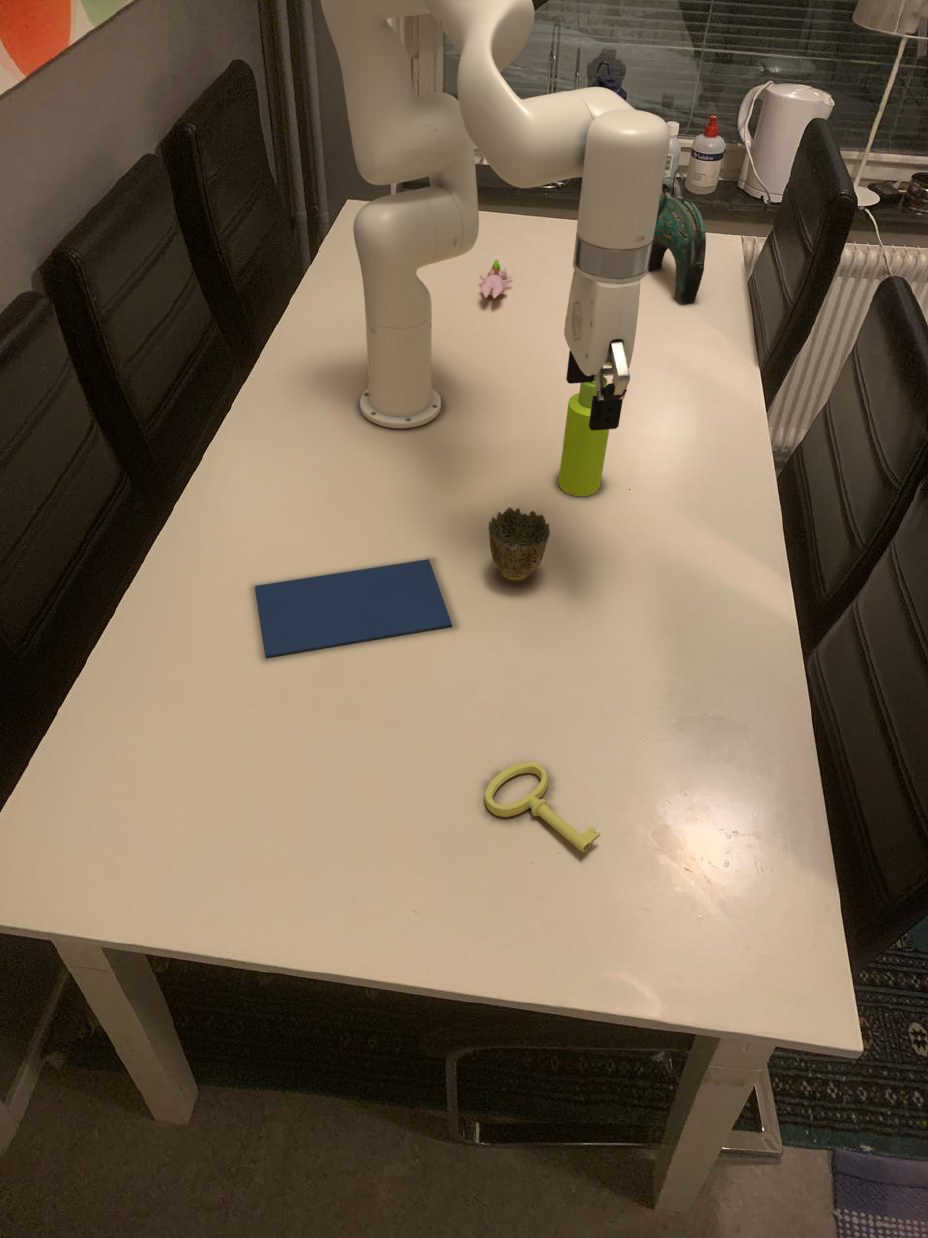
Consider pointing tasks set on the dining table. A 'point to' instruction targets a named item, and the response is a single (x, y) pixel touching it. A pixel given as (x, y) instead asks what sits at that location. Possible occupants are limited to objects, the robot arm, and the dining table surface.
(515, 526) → the dark brown rounded piece
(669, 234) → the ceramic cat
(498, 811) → the key
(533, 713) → the dining table surface
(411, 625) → the cloth
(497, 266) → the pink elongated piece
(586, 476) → the soap dispenser
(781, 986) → the dining table surface
